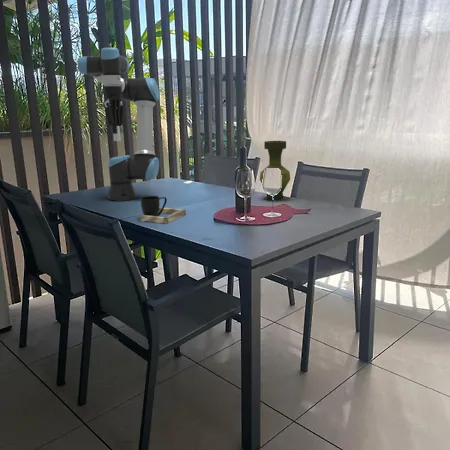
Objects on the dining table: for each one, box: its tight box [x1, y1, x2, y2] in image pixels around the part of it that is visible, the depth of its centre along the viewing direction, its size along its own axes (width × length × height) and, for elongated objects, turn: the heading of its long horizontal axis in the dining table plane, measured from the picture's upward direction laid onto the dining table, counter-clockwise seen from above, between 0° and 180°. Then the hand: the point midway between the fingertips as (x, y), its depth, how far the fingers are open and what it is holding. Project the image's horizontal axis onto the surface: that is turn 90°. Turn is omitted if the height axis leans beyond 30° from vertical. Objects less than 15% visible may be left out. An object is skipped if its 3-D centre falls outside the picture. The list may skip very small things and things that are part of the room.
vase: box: [259, 140, 291, 201], centre depth 234 cm, size 16×16×30 cm
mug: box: [140, 195, 168, 217], centre depth 203 cm, size 8×12×10 cm
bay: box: [139, 206, 187, 225], centre depth 203 cm, size 14×17×2 cm
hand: (117, 140), depth 201 cm, fingers closed
